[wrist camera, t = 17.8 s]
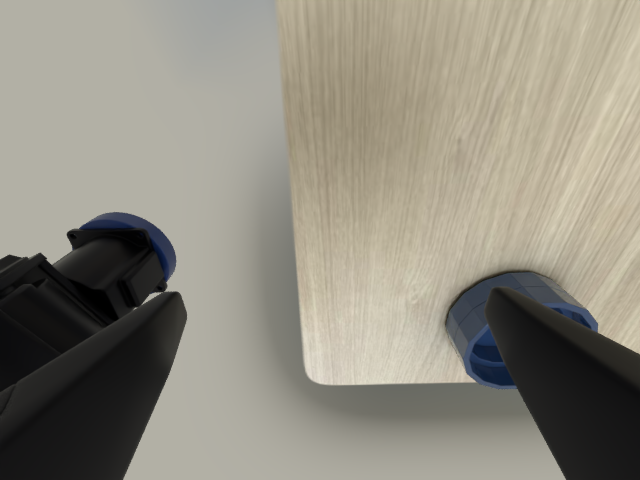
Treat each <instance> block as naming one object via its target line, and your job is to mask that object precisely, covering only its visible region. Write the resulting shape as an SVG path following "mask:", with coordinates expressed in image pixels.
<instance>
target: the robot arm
mask: <svg viewBox="0 0 640 480" xmlns="http://www.w3.org/2000/svg"><path fill="white" fill-rule="evenodd" d="M140 233H142V234H143V236H142V235H140ZM75 235H76V236H77V237H76V236H75ZM67 237H68V239H69V241H70V243H71V245H72V247H73V249H74V250H73V251H71V252H70V253H69V254H67V255H66V256H64V257H63V258H61V259H60V260H58V261H57V262H56V263H54V264H53V265H51V264H50V263H49V262H48V261H47V260H46V259H47V258H46V257H45V256H44V255H42V254H41V253H38V254H36V255H34V256H32V257H30V258H28V257H23V258H21V257H17V256H12V255H8V256H6V257H4V258H2V259H0V480H123V478H124V476H125V474H126V472H127V469H128V467H129V464H130V462H131V460H132V458H133V456H134V453H135V451H136V449H137V446H138V444H139V442H140V440H141V437H142V434H143V433H144V430H145V428H146V426H147V423H148V421H149V419H150V417H151V414H152V412H153V410H154V407H155V405H156V403H157V400H158V398H159V396H160V393H161V391H162V389H163V387H164V385H165V382H166V380H167V378H168V375H169V373H170V370H171V367H172V365H173V362H174V359H175V355H176V352H177V349H178V346H179V343H180V339H181V336H182V333H183V330H184V327H185V324H186V320H187V312H186V309H185V306H184V303H183V300H182V297H181V295H180V293H179V292H164V291H165V290H166V289H167V283H166V280H165V278H164V273H163V270H162V267H161V264H160V262H159V259H158V256H157V253H156V252H155V250H154V247H153V244H152V241H151V238H150V236H149V233H148V231H147V230H146V229H144V228H96V229H72V230H70V231H69V232H68V233H67ZM160 286H161V287H160ZM154 292H163V293H161V294H159V295H158V296H156V297H154V298H153V299H151V300H150V301H148V302H146V303H145V304H143V305H142V303H143V302H144V301H145V299H146V298H147V297H148V296H149V294H150V293H154ZM134 308H137V309H135V310H134ZM484 315H485V318H486V321H487V323H488V326H489V328H490V330H491V333H492V335H493V338H494V340H495V343H496V345H497V347H498V350H499V352H500V355H501V357H502V359H503V362H504V364H505V366H506V368H507V370H508V372H509V374H510V376H511V378H512V380H513V381H514V383H515V385H516V387H517V389H518V391H519V392H520V394H521V396H522V398H523V400H524V402H525V404H526V406H527V408H528V409H529V411H530V413H531V415H532V417H533V419H534V421H535V422H536V424H537V426H538V428H539V430H540V432H541V434H542V435H543V437H544V439H545V441H546V443H547V445H548V447H549V449H550V450H551V452H552V454H553V456H554V458H555V460H556V461H557V463H558V465H559V467H560V469H561V471H562V473H563V475H564V476H565V478H566V480H640V354H638V353H636V352H634V351H632V350H630V349H628V348H626V347H624V346H622V345H620V344H619V343H617V342H615V341H613V340H611V339H609V338H607V337H605V336H603V335H601V334H599V333H597V332H595V331H593V330H591V329H589V328H588V327H586V326H584V325H582V324H580V323H578V322H576V321H574V320H572V319H570V318H568V317H566V316H564V315H562V314H560V313H559V312H557V311H555V310H553V309H551V308H549V307H547V306H545V305H543V304H541V303H539V302H537V301H535V300H533V299H531V298H529V297H528V296H526V295H524V294H522V293H520V292H518V291H516V290H514V289H512V288H510V287H493V288H492V289H491V291H490V293H489V296H488V299H487V302H486V304H485V307H484Z"/></svg>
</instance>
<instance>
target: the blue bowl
mask: <svg viewBox="0 0 640 480" xmlns="http://www.w3.org/2000/svg"><path fill="white" fill-rule="evenodd" d="M493 287H510V288H512V289H514V290H516V291H518V292H520V293H522V294H524V295H526V296H528V297H529V298H531V299H533V300H535V301H537V302H539V303H541V304H543V305H545V306H547V307H549V308H551V309H553V310H555V311H557V312H559V313H560V314H562V315H564V316H566V317H568V318H570V319H572V320H574V321H576V322H578V323H580V324H582V325H584V326H586V327H588V328H589V329H591V330H593V331H595V332H597V333H598V323H597V322H596V320H595V319H594V318H593V316H592V315H591V314H590V313H589V311H588V310H587V309H586V308H585V307H583V306H582V305H581V304H580V303H579V302H578V301H576V300H575V299H574V298H573V297H572V296H571V295H569V294H568V293H567V292H566V291H565V290H563V289H562V288H561V287H560V286H559V285H558V284H556V283H555V282H554V281H553V280H552V279H549V278H547V277H544V276H541V275H539V274H536V273H532V272H524V273H506V274H503V275H500V276H497V277H493V278H490V279H487V280H484V281H482V282H481V283H479V284H478V285H476V286H474V287H473V288H471V289H470V290H468V291H467V292H465V293H464V294H463V295H462V296H461V297H460V298H459V300H458V301H457V302H456V303H455V304H454V306H453V307H452V308H451V309H450V312H449V315H448V319H447V323H446V329H447V332H448V336H449V339H450V341H451V343H452V345H453V347H454V349H455V351H456V353H457V355H458V357H459V359H460V361H461V363H462V365H463V367H464V369H465V371H466V373H467V374H468V375H469V376H470V377H471V378H473V379H474V380H475V381H476V382H477V383H479V384H481V385H485V386H488V387H492V388H496V389H517V387H516V385H515V383H514V381H513V380H512V378H511V376H510V374H509V372H508V370H507V368H506V366H505V364H504V362H503V359H502V357H501V355H500V352H499V350H498V347H497V345H496V343H495V340H494V338H493V335H492V333H491V330H490V328H489V326H488V323H487V321H486V318H485V315H484V307H485V304H486V302H487V299H488V296H489V293H490V291H491V289H492V288H493Z"/></svg>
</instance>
